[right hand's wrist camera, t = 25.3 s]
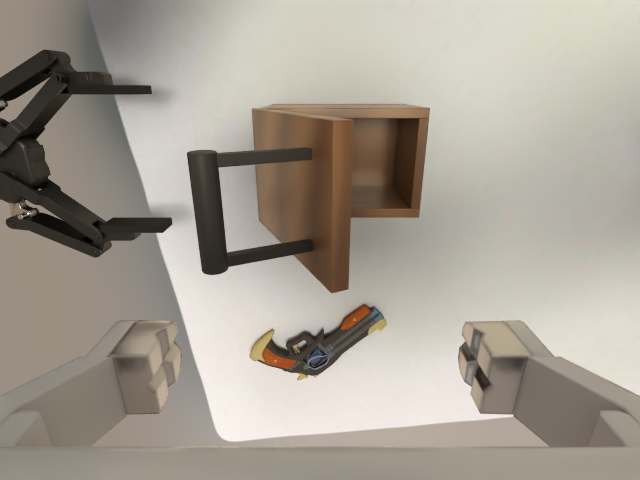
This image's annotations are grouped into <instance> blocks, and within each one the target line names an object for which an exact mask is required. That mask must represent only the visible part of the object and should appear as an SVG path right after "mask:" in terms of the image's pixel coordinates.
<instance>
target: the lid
mask: <svg viewBox="0 0 640 480" xmlns="http://www.w3.org/2000/svg"><path fill="white" fill-rule="evenodd" d="M252 118H253V134H254V149H255V151H242V152H226V153H217V152H216V151H213V150H196V151H190V152H188V153H187V158H188V165H189V173H190V181H191V189H192V196H193V204H194V212H195V219H196V227H197V235H198V243H199V250H200V258H201V266H202V271H203V273H205V274H208V275H216V274H221V273H223V272H225V271H227V270H228V267H230V266H235V265H241V264H246V263H251V262H257V261H262V260H268V259H273V258H278V257H284V256H289V255H294V256H295V257H296V258H297V259H298V260H299V261H300V262H301V263H302V264H303V265H304V266H305V267H306V268H307V269H308V270H309V271H310V272H311V273H312V274H313V275H314V276H315V277H316V278H317V279H318V280H319V281H320V282H321V283H322V284H323V285H324V286H325V287H326V288H327V289H328V290H329V291H330V292H331V293H334V292H339V291H343V290H347V289H348V284H349V252H350V219H351V187H352V155H353V122H354V121H353V120H352V119H344V118H336V117H328V116H321V115H313V114H305V113H297V112H289V111H281V110H274V109H266V108H259V109H252ZM254 164H255V165H256V181H257V196H258V212H259V221H260V222H261V223H262V224H263V225H264V226H265V227H266V228H267V229H268V230H269V231H270V232H271V233H272V234H273V235H274V236H275V237H276V238H277V239H278V240H279V241H280V242H281V244H275V245H269V246H263V247H257V248H251V249H245V250H239V251H234V252H228V253H227V249H226V239H225V229H224V219H223V209H222V199H221V189H220V179H219V170H218V167H229V166H241V165H254Z"/></svg>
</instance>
